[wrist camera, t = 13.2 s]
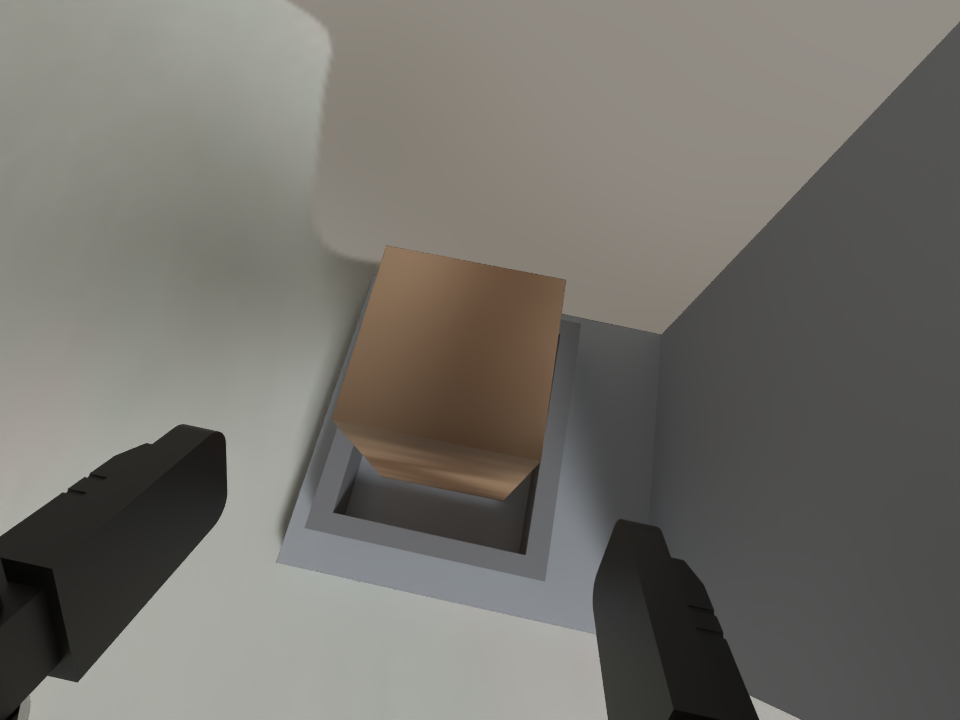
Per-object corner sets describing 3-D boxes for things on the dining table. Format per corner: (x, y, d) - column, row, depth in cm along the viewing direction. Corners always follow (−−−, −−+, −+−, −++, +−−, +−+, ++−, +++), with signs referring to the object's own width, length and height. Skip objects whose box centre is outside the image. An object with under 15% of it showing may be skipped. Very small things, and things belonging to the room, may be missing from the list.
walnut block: (382, 477, 20) (331, 419, 11) (415, 349, 22) (393, 221, 14) (502, 501, 20) (541, 460, 11) (524, 370, 22) (569, 255, 13)
